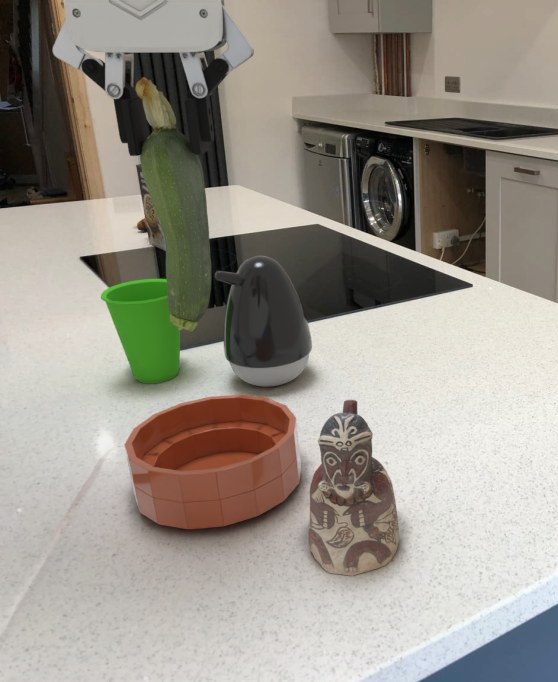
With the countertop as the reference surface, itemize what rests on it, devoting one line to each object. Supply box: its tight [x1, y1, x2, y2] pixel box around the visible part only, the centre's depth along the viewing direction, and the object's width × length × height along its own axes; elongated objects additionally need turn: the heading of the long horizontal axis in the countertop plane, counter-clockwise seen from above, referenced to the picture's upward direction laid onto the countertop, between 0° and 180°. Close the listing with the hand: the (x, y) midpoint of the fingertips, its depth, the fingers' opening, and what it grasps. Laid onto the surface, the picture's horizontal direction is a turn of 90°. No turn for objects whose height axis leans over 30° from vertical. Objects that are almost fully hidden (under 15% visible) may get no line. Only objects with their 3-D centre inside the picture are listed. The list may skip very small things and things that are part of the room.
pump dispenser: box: [214, 255, 313, 388], centre depth 86 cm, size 10×10×15 cm
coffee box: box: [135, 163, 166, 252], centre depth 147 cm, size 9×6×16 cm
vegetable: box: [134, 76, 212, 333], centre depth 57 cm, size 4×4×20 cm
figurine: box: [307, 399, 400, 577], centre depth 57 cm, size 7×7×12 cm
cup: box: [100, 278, 181, 384], centre depth 88 cm, size 9×9×11 cm
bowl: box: [123, 394, 302, 530], centre depth 66 cm, size 14×14×6 cm
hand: (170, 150), depth 56 cm, fingers closed on vegetable, 3 cm apart
